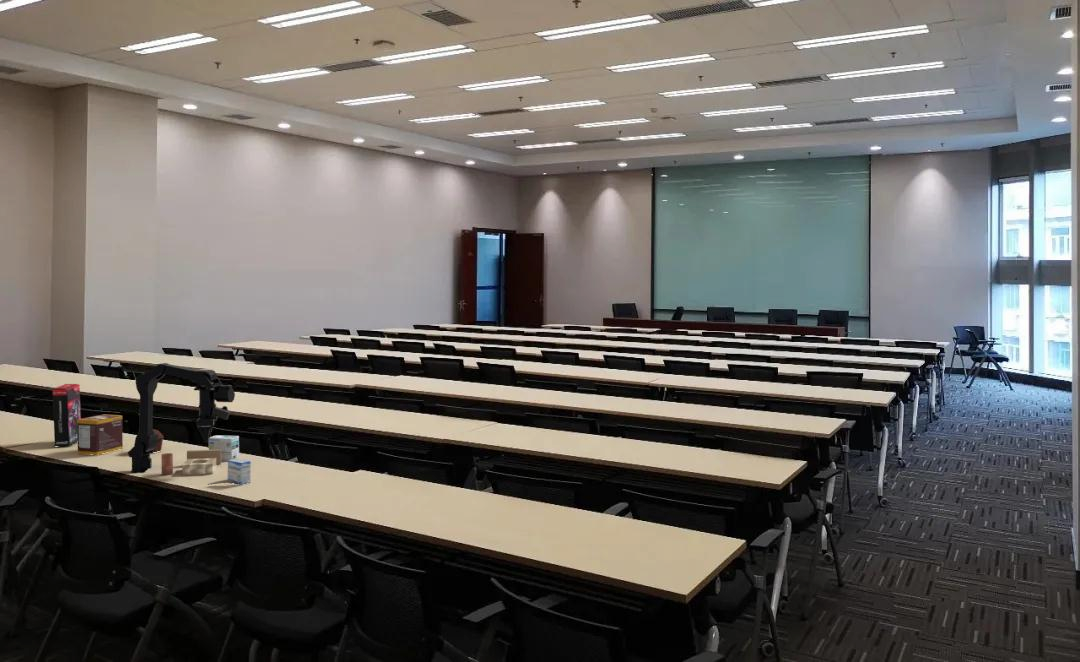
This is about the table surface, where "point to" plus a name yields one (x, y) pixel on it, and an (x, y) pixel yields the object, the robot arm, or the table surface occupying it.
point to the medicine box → (239, 471)
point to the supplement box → (99, 434)
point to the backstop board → (205, 455)
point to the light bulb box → (225, 446)
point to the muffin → (160, 440)
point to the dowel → (167, 463)
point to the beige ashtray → (199, 466)
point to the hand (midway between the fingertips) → (207, 440)
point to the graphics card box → (66, 414)
